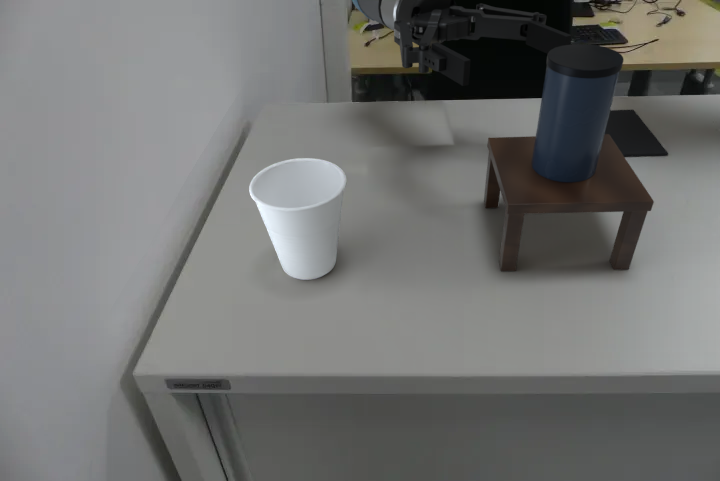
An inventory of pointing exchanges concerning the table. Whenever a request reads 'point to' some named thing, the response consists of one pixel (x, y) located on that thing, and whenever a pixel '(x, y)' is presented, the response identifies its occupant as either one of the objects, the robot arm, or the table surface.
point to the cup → (301, 213)
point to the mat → (632, 135)
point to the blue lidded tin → (574, 110)
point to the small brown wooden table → (563, 195)
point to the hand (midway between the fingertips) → (518, 60)
